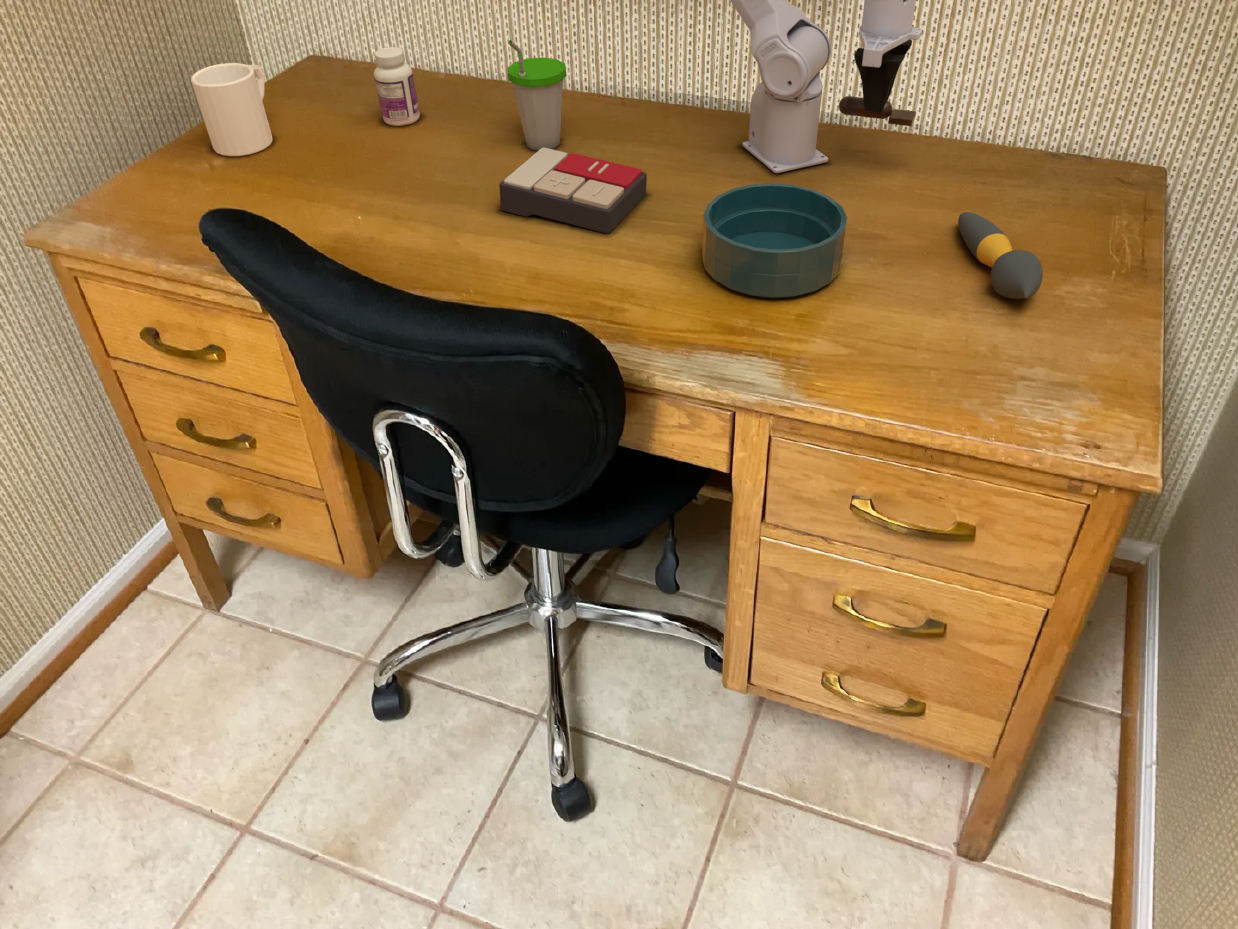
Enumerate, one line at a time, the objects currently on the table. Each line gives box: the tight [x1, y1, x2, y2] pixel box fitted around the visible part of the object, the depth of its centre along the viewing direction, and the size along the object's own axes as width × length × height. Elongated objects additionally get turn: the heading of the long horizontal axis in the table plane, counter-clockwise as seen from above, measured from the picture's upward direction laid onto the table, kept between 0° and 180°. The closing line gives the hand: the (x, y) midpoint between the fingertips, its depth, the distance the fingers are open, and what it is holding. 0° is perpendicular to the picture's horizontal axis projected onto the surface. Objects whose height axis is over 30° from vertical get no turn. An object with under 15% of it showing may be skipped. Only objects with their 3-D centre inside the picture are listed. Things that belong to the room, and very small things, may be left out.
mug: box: [190, 62, 273, 157], centre depth 135 cm, size 8×12×10 cm, turn 161°
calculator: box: [498, 148, 648, 234], centre depth 119 cm, size 11×4×15 cm
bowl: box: [701, 182, 848, 299], centre depth 107 cm, size 15×15×6 cm
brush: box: [838, 95, 917, 127], centre depth 119 cm, size 9×3×2 cm, turn 67°
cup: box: [507, 39, 567, 152], centre depth 129 cm, size 8×8×15 cm
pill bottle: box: [373, 46, 421, 127], centre depth 138 cm, size 5×5×10 cm
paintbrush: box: [957, 211, 1044, 300], centre depth 105 cm, size 20×5×5 cm, turn 10°
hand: (875, 106), depth 119 cm, fingers closed on brush, 2 cm apart
